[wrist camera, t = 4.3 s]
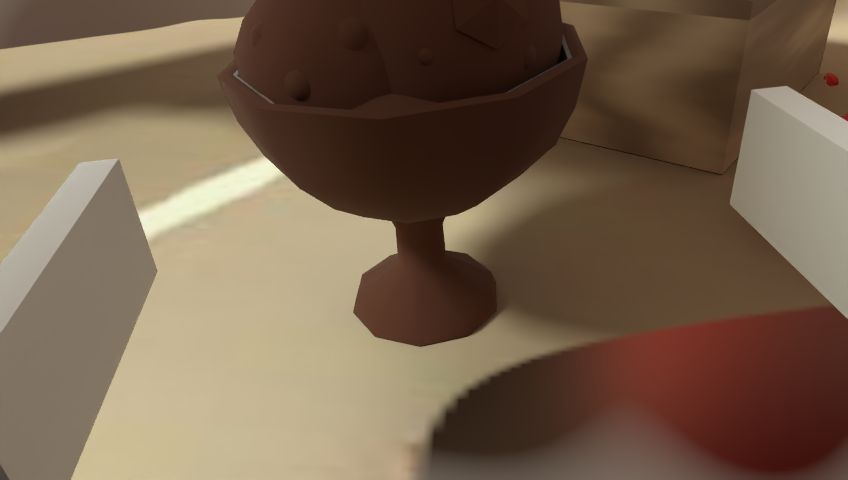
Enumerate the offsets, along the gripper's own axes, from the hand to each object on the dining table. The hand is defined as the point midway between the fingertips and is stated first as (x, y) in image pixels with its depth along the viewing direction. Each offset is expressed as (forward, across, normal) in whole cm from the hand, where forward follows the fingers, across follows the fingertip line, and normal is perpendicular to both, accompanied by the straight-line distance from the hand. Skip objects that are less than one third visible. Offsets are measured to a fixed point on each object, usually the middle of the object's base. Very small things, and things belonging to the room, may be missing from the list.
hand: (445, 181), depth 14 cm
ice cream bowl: (+8, 0, -9) cm, 12 cm away
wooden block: (+25, +17, -9) cm, 31 cm away
